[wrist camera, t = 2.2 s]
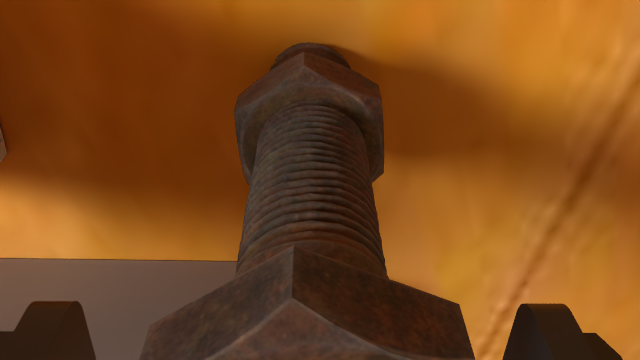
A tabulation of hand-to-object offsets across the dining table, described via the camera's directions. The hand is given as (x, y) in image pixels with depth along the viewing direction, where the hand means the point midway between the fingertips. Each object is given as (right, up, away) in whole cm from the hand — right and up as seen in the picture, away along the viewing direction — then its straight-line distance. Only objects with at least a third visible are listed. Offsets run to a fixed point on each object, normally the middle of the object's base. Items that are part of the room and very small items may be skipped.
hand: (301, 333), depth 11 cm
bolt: (0, +7, +11) cm, 13 cm away
